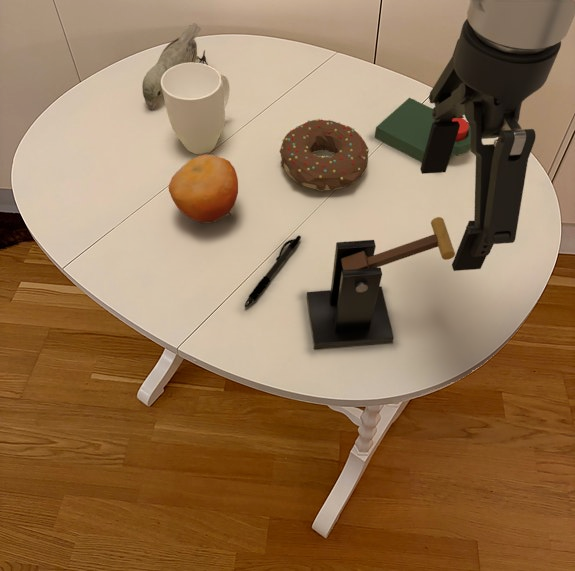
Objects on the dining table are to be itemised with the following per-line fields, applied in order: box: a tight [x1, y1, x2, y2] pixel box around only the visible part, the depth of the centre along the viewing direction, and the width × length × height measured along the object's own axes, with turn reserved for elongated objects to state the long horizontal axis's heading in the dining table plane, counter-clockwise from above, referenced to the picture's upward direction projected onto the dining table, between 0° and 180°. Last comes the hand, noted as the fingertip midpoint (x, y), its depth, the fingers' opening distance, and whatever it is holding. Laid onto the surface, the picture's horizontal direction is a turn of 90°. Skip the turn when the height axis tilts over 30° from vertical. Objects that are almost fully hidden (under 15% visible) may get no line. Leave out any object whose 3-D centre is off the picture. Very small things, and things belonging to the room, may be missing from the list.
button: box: [452, 118, 469, 142], centre depth 93 cm, size 4×4×2 cm
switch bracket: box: [306, 239, 395, 350], centre depth 72 cm, size 10×8×13 cm
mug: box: [161, 62, 231, 155], centre depth 93 cm, size 12×9×12 cm
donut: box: [279, 118, 370, 192], centre depth 92 cm, size 14×14×5 cm
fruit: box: [168, 154, 239, 225], centre depth 84 cm, size 10×9×10 cm
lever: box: [341, 216, 456, 270], centre depth 67 cm, size 12×5×2 cm, turn 96°
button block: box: [373, 97, 471, 163], centre depth 96 cm, size 14×10×4 cm
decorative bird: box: [141, 23, 209, 110], centre depth 103 cm, size 5×16×8 cm, turn 153°
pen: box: [244, 235, 302, 309], centre depth 81 cm, size 14×2×1 cm, turn 149°
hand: (448, 216), depth 63 cm, fingers open, 13 cm apart
